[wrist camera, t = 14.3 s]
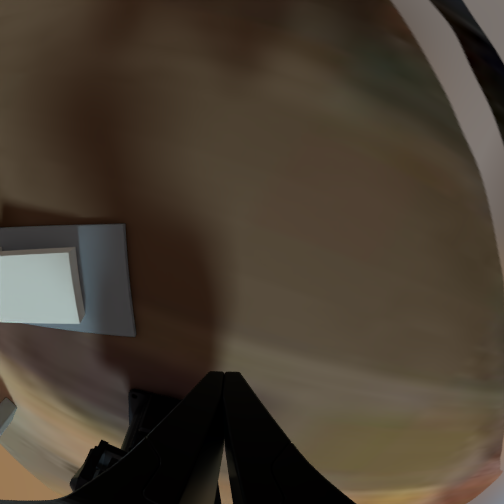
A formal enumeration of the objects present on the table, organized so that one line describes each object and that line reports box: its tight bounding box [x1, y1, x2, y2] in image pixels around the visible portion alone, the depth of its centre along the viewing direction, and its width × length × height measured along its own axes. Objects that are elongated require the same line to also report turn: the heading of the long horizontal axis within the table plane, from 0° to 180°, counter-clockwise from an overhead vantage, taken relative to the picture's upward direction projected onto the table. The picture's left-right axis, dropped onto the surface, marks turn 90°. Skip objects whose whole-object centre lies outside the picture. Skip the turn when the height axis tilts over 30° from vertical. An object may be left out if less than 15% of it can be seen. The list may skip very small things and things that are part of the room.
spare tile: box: [0, 247, 85, 324], centre depth 18 cm, size 2×5×8 cm
